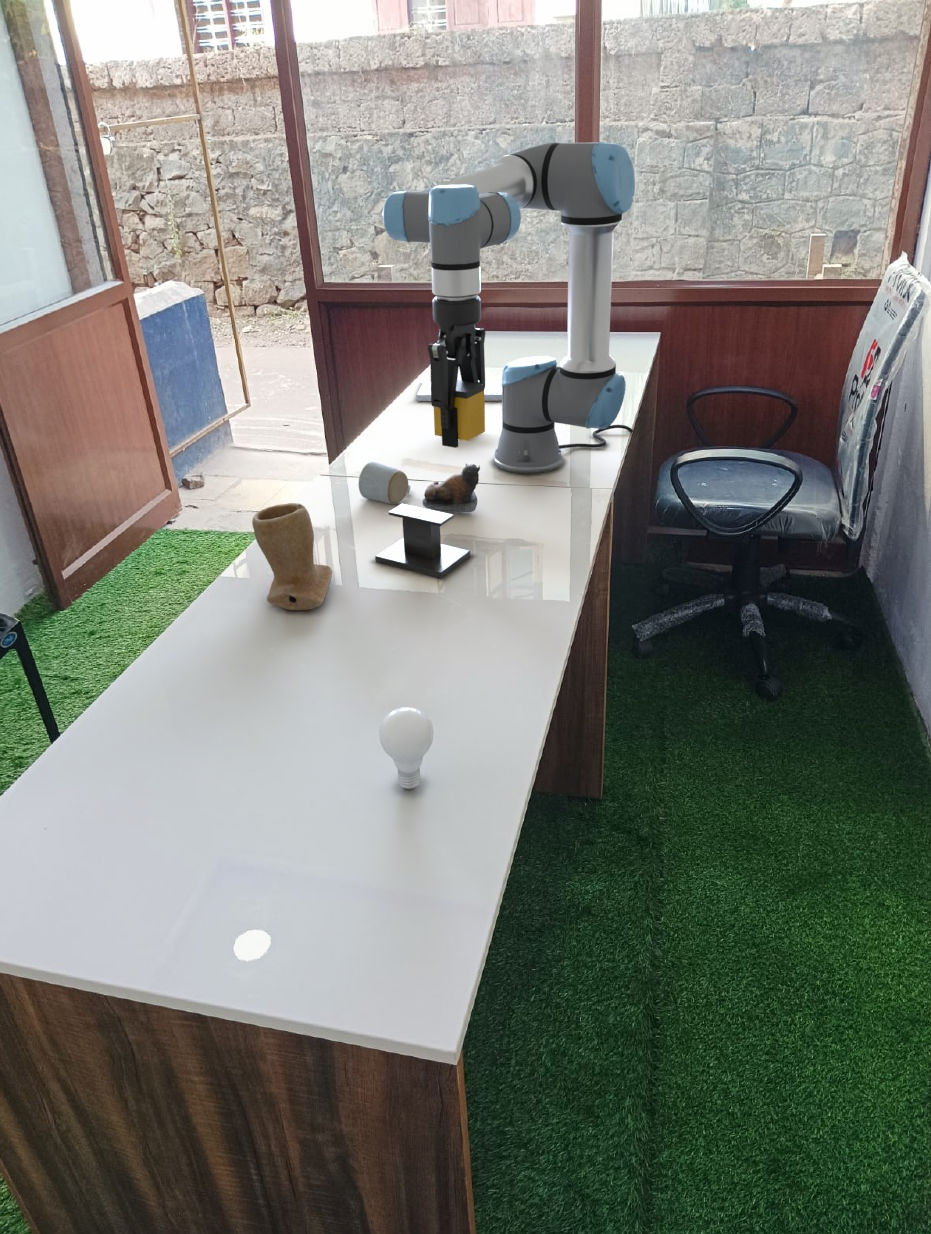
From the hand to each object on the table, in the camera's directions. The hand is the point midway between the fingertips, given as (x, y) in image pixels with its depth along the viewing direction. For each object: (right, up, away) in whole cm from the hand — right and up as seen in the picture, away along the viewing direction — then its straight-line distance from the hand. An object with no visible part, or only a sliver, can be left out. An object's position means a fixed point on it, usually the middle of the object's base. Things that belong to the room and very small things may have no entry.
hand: (460, 440), depth 153 cm
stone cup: (-28, -26, +3) cm, 38 cm away
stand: (-7, -19, +13) cm, 24 cm away
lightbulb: (-6, -50, -42) cm, 65 cm away
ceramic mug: (-15, -5, +38) cm, 42 cm away
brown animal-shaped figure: (-2, -8, +32) cm, 33 cm away
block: (0, +1, -1) cm, 1 cm away
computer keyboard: (+9, +34, +105) cm, 111 cm away
